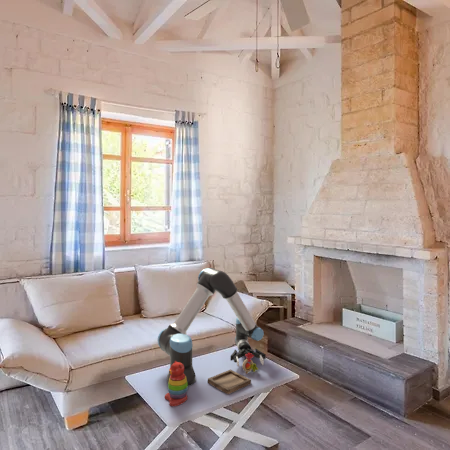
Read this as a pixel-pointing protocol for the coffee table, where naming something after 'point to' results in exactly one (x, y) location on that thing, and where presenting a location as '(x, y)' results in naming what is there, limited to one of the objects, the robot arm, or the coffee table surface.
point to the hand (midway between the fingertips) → (250, 363)
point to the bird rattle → (249, 364)
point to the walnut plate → (229, 381)
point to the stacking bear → (177, 385)
